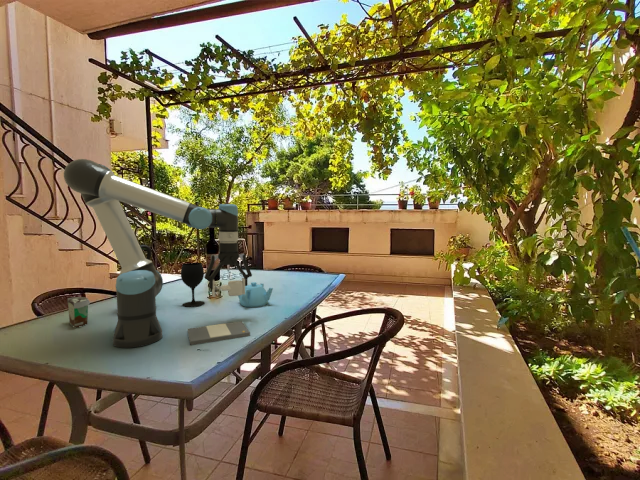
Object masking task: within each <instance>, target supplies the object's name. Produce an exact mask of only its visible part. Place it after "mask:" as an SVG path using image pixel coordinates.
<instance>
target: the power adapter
mask: <svg viewBox="0 0 640 480" xmlns="http://www.w3.org/2000/svg"><path fill="white" fill-rule="evenodd" d="M217 290H221V291H223V292H226V291H228V292H227V295H228V296H230V297H238V296H240V295H242V294H243V282H242V279H239V280H228V282H227V284H222V285H220V286H215V291H217Z"/></svg>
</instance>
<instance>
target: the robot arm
mask: <svg viewBox="0 0 640 480" xmlns="http://www.w3.org/2000/svg"><path fill="white" fill-rule="evenodd" d="M63 179H64V182H65V184H66V185H67V186H68V187H69V188H70V189H71V190H73V191H75V192H76V193H79V194H80V195H81V197H82V199H83V202H84V204H85V205H86V206H89V207H91V208H92V209H93V211H94V213H95V215H96V217H97V220H98V221H99V223H100V225H101V227H102V229H103V231H104V234H105V236H106V237H107V239H108V242H109V244H110V246H111V249H112V250H113V252H114V254H115V256H116V258H117V261H118V262H119V265H120V266H121V269H120V272H119V275H117V277H116V279H115V280H116V281H115V290H116V291H115V292H116V308H117V312H116V313H117V322H116V325H115V328H114V331H113V335H112V345H113V346H114V347H116V348H119V349H121V348H122V349H124V348H127V349H128V348H129V349H130V348H132V349H133V348H139V347H143V346H147V345H151V344H154V343H157V342H158V341H159V340H161V339H162V338H163V328H162V326H161V324H160V321H159V319H158V316H157V304H156V303H157V302H156V301H157V300H156V297H157V296H158V295H160V292H161V291H162V289H163V286H164V285H163V283H164V281H163V277H162V275H161V274H162V273H160V272H159V271H158V270H156V267H155V265H154V263H153V261H152V260H151V259H150V260H148V259H146V258H147V257H146V256H145V254H144V251H143V249H141V247H140V245H141V244H139V241H138V239H137V237H136V234H135V232H134V230H133V228H132V225H131V224H130V221H129V220H128V218H127V215H126V213H125V211H124V209H123V207H122V205H121V203H124V204H127V205H131V206H132V207H135V208H139V209H142V210H145V211H148V212H150V213H153V214H155V215H160V216H162V217H165V218H168V219H171V220H173V221H176V222H179V223H182V224H184V225H187V227H188V228H195V229H197V230H204V229H207V228H216V229H217V228H218V241H219V243H218V254H217V255H215V254H211V255H210V261H209V263H208V266H207V269H206V272H205V273H204V277H203V279H205V280H207V281H208V282H209V283H208V288H209V289H210V290H211V296H212V298H215V297H216V290H215V287H216V286H215V285H216V281H215V277H216V276H217V275H218V273H219V272H220V270H221V268H222V267H223V266H233V265H235V267H236V269H238V271H239V273H240V275H241V276H243V277H241V281H242V282H243V294H245V286H247V285H248V279H249V278H251V277H252V276H253V274H252V271H251V268H250V267H249V263H248V261H247V255H246V254H245V253H242V254H239V243H238V242H239V213H238V212H239V209H238V206H237V204H233V203H230V204H229V203H220V204H219V205H218V208H206V207H203V206H198V205H196V204H194V203H190V202H188V201H185V200H183V199H181V198H177V197H175V196H172V195H170V194H166V193H164V192H160V191H158V190H155V189H153V188H150V187H147V186H145V185H142V184H139V183H137V182H133V181H131V180H129V179H126V178H124V177H121V176H118V175H115V173H114V172H113V170H111V169H110V168H109V167H107V166H105V165H103V164H101V163H98V162H95V161H93V160H90V159H87V158H80V159H79V158H78V159H74V160H73V161H71V162H70V163H68V164H67V165H66V166H65V168H64V170H63ZM239 258H240V259H241V261H242V263H243V266H244V269H245V271H246V272H245V271H244V270H243V268H242V267H241V265H240V264H239V262H238V260H239ZM217 259H218V260H219V263H218V264H217V266H216V268H215V269H214V270H213V267H214V265H215V263H216V262H215V261H217ZM212 270H213V272H212Z"/></svg>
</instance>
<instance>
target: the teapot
mask: <svg viewBox="0 0 640 480" xmlns="http://www.w3.org/2000/svg"><path fill="white" fill-rule="evenodd" d="M273 290H274V288H273V287H269V288H268V289H267V290H266V288H265V284H264V283H260V284H258V282H257V281H254V282H253V281H252V282H250V284H247V286H245V294H242V295H240V296H237V297H238V299H239V300H238V301H239V304H240V305H241V306H242V307H245V308H260V307H264V306H265V305H267V303H268V302H269V300H270V299H271V295H272V293H273Z"/></svg>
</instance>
